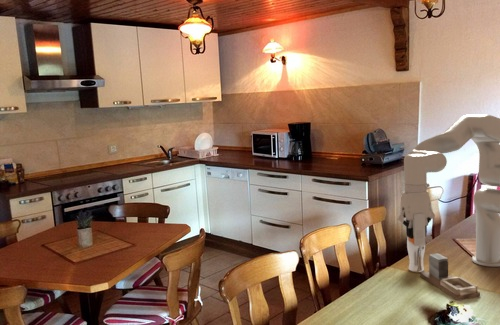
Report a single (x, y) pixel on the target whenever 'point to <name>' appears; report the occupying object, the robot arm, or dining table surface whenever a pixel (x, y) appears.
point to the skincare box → (418, 230)
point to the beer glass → (415, 257)
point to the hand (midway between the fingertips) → (416, 236)
